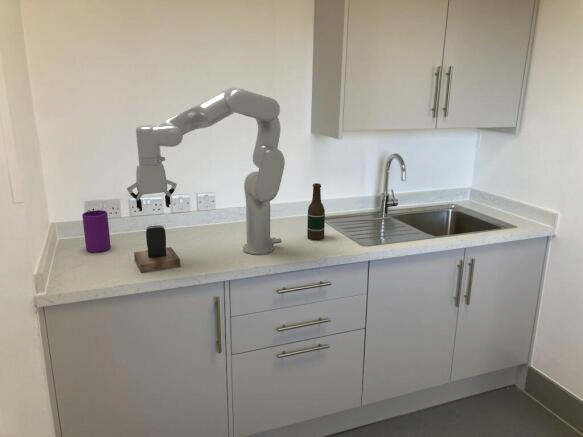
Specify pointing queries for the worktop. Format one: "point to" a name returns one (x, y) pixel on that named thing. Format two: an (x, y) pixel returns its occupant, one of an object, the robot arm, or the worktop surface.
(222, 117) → the robot arm
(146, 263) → the plinth
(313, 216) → the beer bottle
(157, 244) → the battery charger
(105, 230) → the mug
